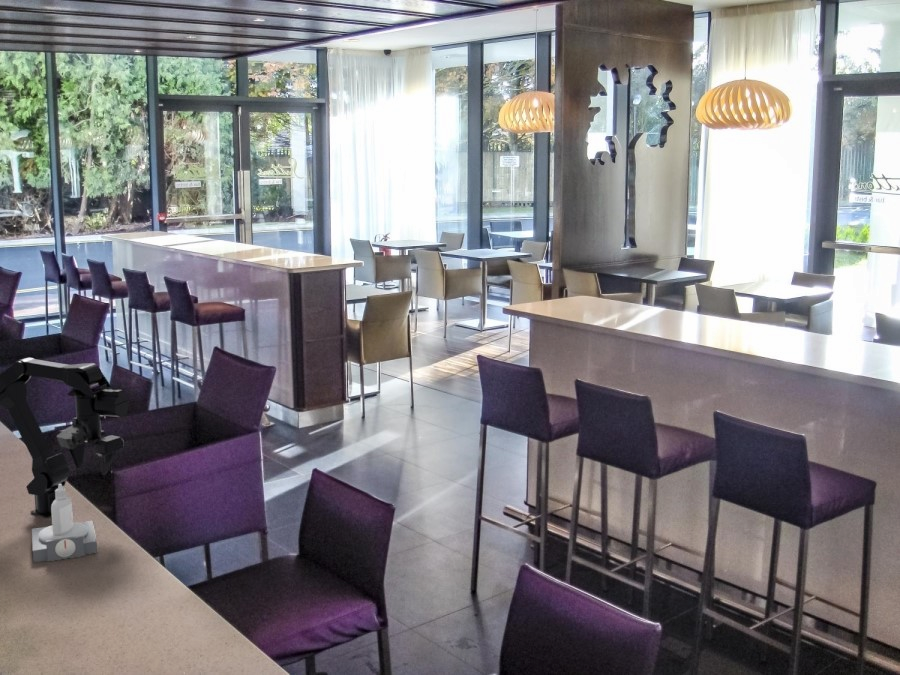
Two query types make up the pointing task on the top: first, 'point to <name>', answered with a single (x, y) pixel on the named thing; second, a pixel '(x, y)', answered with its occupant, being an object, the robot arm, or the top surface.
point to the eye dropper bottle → (61, 512)
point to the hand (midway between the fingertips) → (91, 471)
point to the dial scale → (63, 542)
